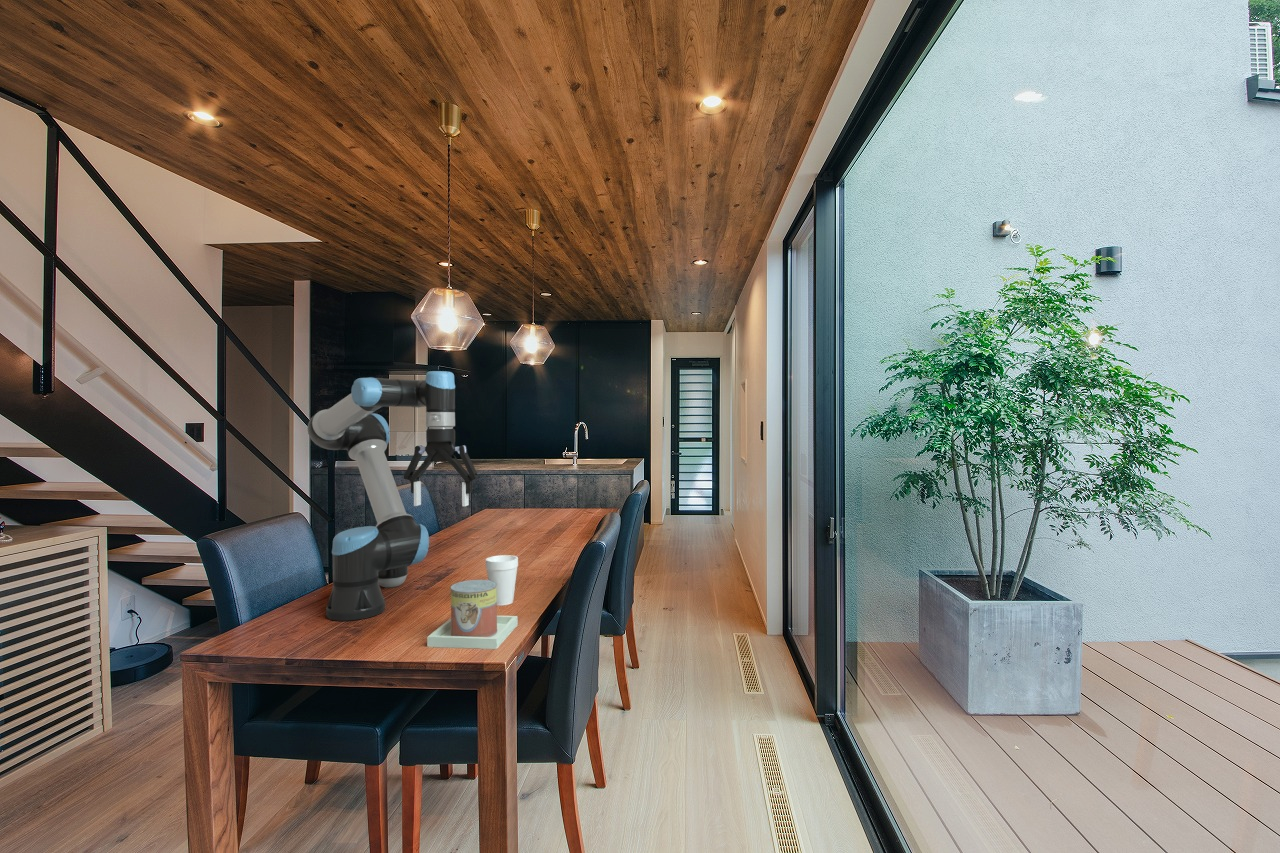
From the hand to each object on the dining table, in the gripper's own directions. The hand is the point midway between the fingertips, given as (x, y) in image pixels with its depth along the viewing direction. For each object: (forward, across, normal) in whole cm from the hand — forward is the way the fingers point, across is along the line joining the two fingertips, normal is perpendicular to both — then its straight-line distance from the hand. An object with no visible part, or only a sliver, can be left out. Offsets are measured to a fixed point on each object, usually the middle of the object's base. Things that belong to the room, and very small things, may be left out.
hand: (441, 505), depth 169 cm
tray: (+31, +14, -13) cm, 36 cm away
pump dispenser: (+31, -30, +30) cm, 52 cm away
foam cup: (+31, +12, +15) cm, 36 cm away
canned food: (+30, +14, -13) cm, 36 cm away
